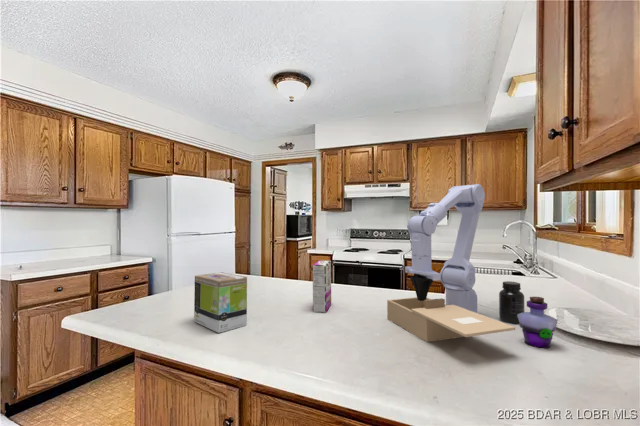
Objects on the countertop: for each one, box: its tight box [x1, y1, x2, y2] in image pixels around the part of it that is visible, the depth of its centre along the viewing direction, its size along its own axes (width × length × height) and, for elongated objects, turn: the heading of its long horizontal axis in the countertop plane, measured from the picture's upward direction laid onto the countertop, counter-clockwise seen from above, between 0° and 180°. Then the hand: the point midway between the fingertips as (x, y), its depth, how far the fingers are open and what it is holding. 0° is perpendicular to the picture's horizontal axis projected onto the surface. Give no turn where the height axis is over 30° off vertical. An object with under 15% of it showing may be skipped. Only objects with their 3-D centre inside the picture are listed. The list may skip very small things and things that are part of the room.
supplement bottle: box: [498, 280, 525, 325], centre depth 99 cm, size 7×7×12 cm
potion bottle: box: [517, 296, 559, 350], centre depth 81 cm, size 9×9×12 cm
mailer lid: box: [411, 298, 516, 338], centre depth 81 cm, size 14×20×3 cm
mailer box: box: [386, 296, 464, 343], centre depth 94 cm, size 14×20×6 cm
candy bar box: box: [311, 260, 332, 314], centre depth 114 cm, size 11×5×16 cm, turn 168°
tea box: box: [193, 271, 248, 334], centre depth 97 cm, size 15×10×15 cm, turn 47°
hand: (421, 300), depth 96 cm, fingers closed
